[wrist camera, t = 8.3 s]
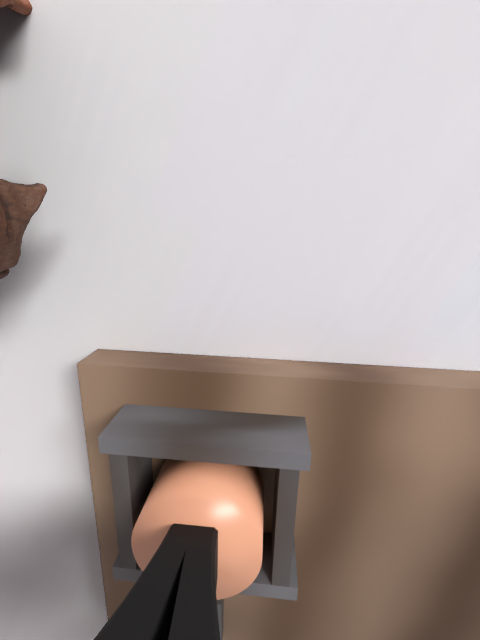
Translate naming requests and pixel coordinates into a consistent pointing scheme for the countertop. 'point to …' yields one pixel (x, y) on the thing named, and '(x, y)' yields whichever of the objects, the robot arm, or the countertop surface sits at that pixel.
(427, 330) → the countertop surface
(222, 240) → the countertop surface
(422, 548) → the control panel
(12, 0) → the brown curved loop piece
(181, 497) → the push button
